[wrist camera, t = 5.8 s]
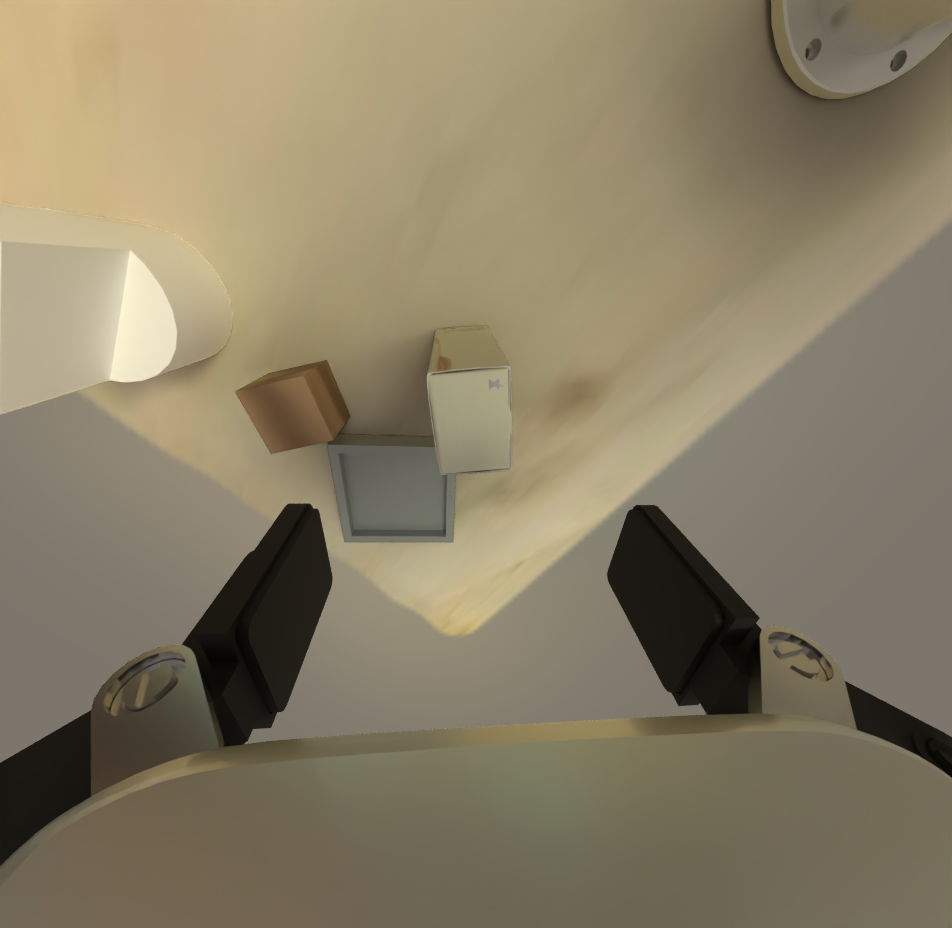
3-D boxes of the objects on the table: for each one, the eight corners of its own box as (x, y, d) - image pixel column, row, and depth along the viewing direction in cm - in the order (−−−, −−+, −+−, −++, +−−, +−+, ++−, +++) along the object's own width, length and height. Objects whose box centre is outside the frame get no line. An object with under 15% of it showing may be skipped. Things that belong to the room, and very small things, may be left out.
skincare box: (434, 328, 27) (422, 365, 16) (488, 324, 27) (512, 358, 16) (442, 405, 30) (438, 479, 19) (491, 401, 30) (513, 472, 19)
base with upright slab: (216, 382, 28) (75, 448, 17) (85, 317, 25) (-179, 350, 14) (248, 277, 24) (94, 282, 14) (100, 189, 21) (-234, 110, 11)
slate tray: (456, 437, 31) (456, 447, 30) (453, 528, 37) (453, 542, 35) (335, 433, 31) (327, 444, 29) (350, 527, 36) (344, 542, 34)
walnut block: (327, 359, 27) (303, 376, 23) (350, 415, 30) (333, 440, 26) (268, 373, 28) (234, 391, 23) (297, 427, 30) (270, 453, 26)
